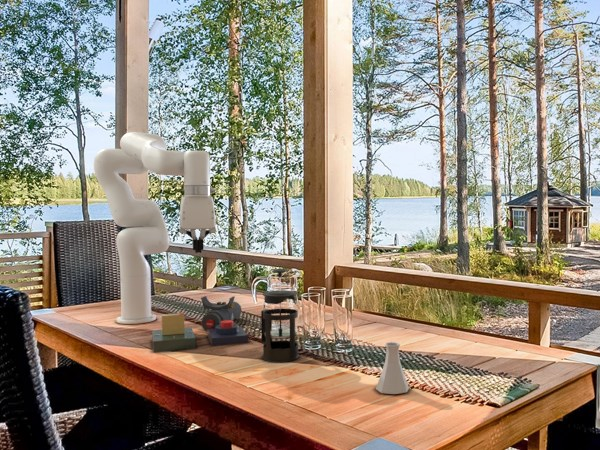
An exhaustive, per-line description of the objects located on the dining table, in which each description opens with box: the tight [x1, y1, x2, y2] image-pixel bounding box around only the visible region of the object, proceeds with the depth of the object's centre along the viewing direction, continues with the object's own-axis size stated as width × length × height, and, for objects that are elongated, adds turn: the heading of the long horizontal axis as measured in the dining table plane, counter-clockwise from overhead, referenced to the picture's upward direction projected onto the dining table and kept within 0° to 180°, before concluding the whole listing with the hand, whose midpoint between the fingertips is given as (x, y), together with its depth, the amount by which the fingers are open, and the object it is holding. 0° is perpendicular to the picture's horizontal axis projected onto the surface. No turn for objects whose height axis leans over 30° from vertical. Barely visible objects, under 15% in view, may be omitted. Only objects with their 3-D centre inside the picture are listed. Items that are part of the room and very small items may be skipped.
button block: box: [206, 323, 249, 347], centre depth 167 cm, size 12×10×4 cm
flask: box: [375, 341, 410, 395], centre depth 123 cm, size 7×7×10 cm
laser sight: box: [200, 295, 242, 332], centre depth 185 cm, size 10×22×10 cm, turn 174°
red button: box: [221, 320, 234, 328], centre depth 167 cm, size 4×4×2 cm
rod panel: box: [151, 326, 197, 353], centre depth 161 cm, size 14×11×3 cm
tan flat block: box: [161, 312, 186, 335], centre depth 161 cm, size 6×2×6 cm, turn 111°
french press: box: [260, 268, 300, 363], centre depth 148 cm, size 12×9×23 cm
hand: (198, 252), depth 172 cm, fingers closed
